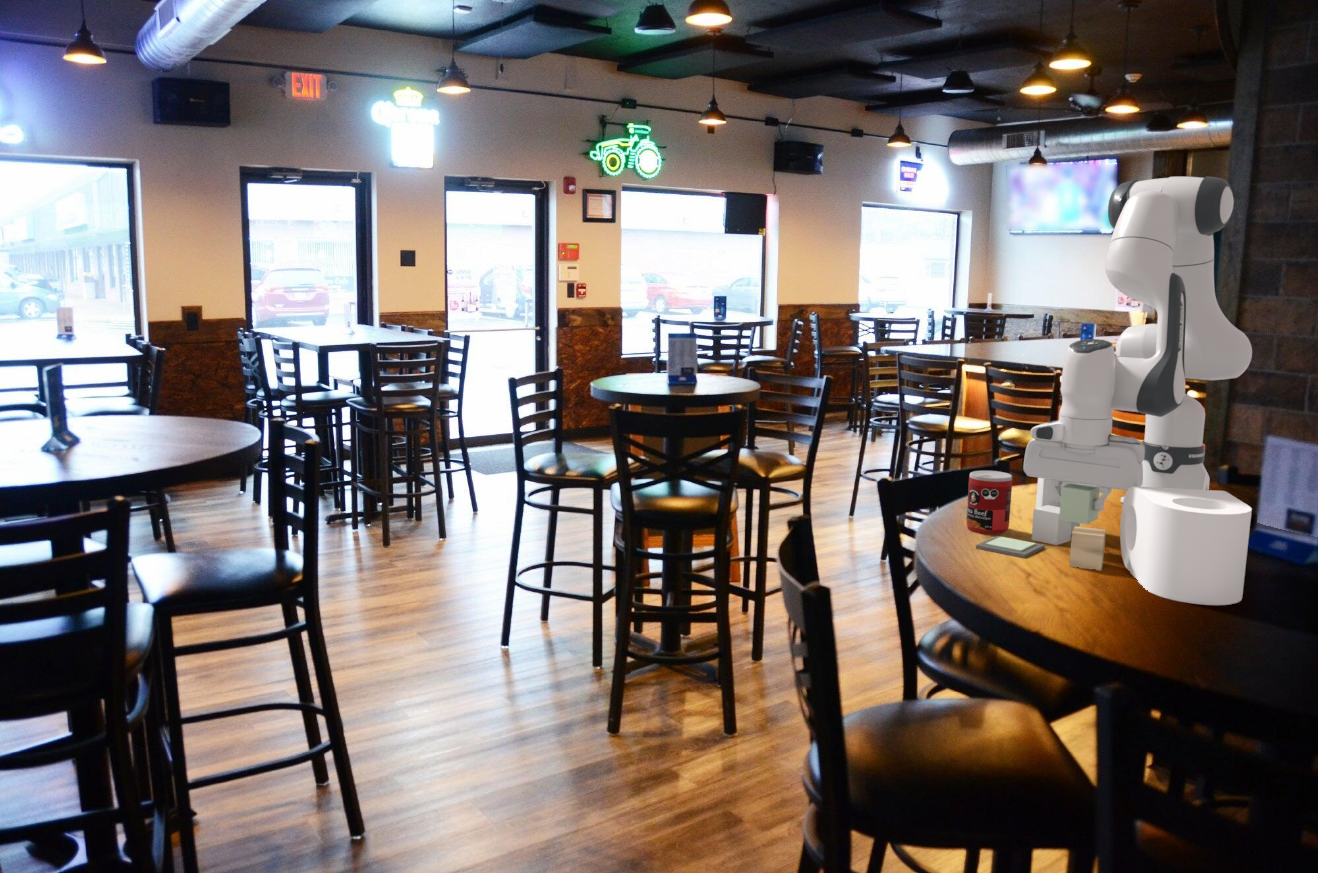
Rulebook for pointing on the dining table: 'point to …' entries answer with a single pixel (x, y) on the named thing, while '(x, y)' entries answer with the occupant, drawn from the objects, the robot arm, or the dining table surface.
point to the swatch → (1010, 546)
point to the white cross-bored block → (1186, 543)
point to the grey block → (1050, 526)
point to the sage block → (1078, 503)
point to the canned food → (989, 502)
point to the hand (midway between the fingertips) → (1079, 507)
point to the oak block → (1087, 548)
